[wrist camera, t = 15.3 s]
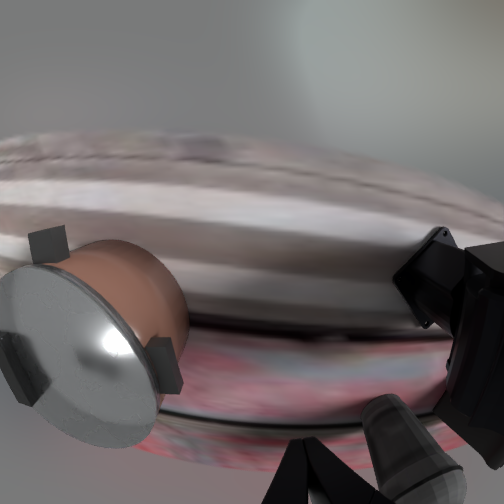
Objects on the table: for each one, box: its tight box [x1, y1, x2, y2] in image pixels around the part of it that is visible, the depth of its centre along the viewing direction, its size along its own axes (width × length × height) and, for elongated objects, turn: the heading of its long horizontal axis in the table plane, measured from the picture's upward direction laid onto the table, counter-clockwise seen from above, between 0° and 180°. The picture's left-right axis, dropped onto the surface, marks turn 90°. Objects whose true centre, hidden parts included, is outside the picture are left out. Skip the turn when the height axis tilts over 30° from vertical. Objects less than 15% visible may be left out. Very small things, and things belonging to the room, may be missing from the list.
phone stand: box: [433, 390, 504, 470], centre depth 17 cm, size 9×6×12 cm, turn 74°
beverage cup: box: [361, 394, 467, 504], centre depth 13 cm, size 7×7×20 cm
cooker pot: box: [28, 225, 189, 409], centre depth 17 cm, size 13×16×8 cm
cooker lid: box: [0, 264, 160, 448], centre depth 12 cm, size 12×12×2 cm
